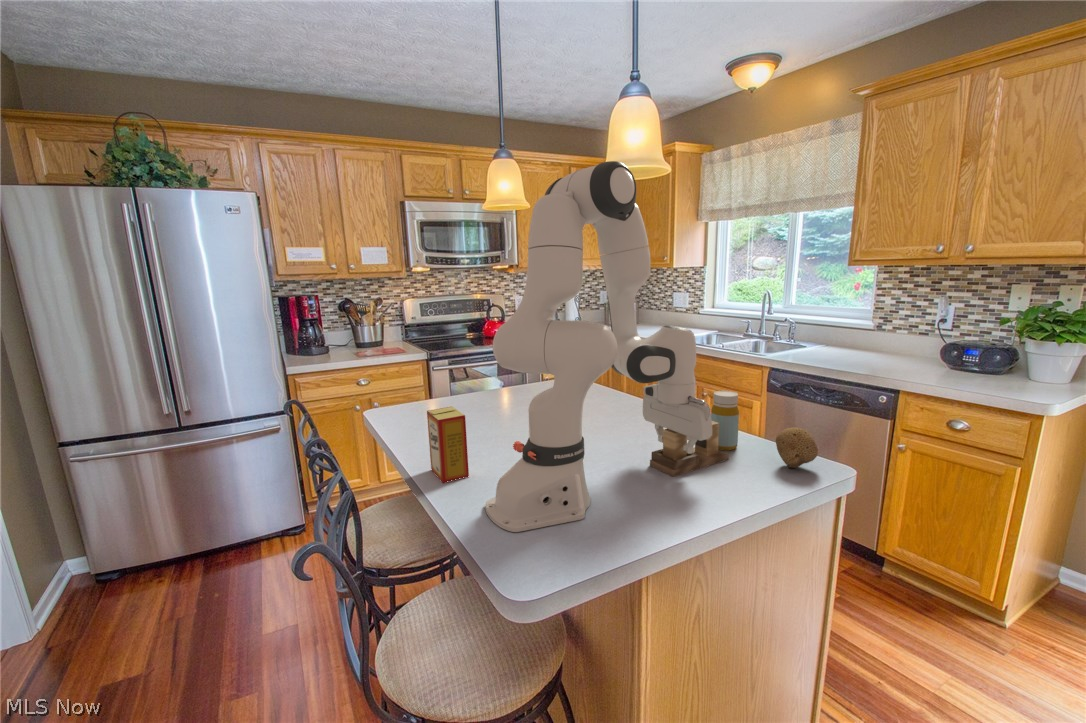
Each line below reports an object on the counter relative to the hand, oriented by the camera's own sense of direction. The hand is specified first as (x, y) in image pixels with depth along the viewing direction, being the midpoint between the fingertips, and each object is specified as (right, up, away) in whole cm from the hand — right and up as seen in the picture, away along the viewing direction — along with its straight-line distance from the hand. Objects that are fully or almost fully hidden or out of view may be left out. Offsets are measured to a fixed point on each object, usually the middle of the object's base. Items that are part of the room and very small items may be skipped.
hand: (674, 447), depth 120 cm
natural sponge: (+29, -5, -1) cm, 29 cm away
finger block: (0, -4, +1) cm, 4 cm away
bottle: (+17, -2, +14) cm, 22 cm away
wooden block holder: (+5, -5, +3) cm, 7 cm away
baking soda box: (-56, -7, +1) cm, 56 cm away
